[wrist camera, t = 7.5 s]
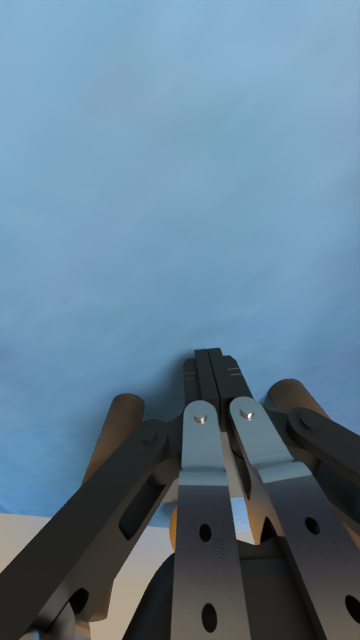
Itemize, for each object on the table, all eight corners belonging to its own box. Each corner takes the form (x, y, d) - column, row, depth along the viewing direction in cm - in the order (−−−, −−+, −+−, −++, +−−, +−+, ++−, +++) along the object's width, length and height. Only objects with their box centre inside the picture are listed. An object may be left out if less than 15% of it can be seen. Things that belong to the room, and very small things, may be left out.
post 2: (305, 377, 14) (489, 585, 6) (299, 401, 15) (444, 602, 7) (271, 380, 14) (404, 590, 6) (267, 404, 15) (373, 606, 7)
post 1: (141, 392, 14) (94, 608, 6) (147, 414, 15) (114, 620, 7) (108, 395, 14) (18, 612, 6) (116, 417, 15) (50, 624, 7)
